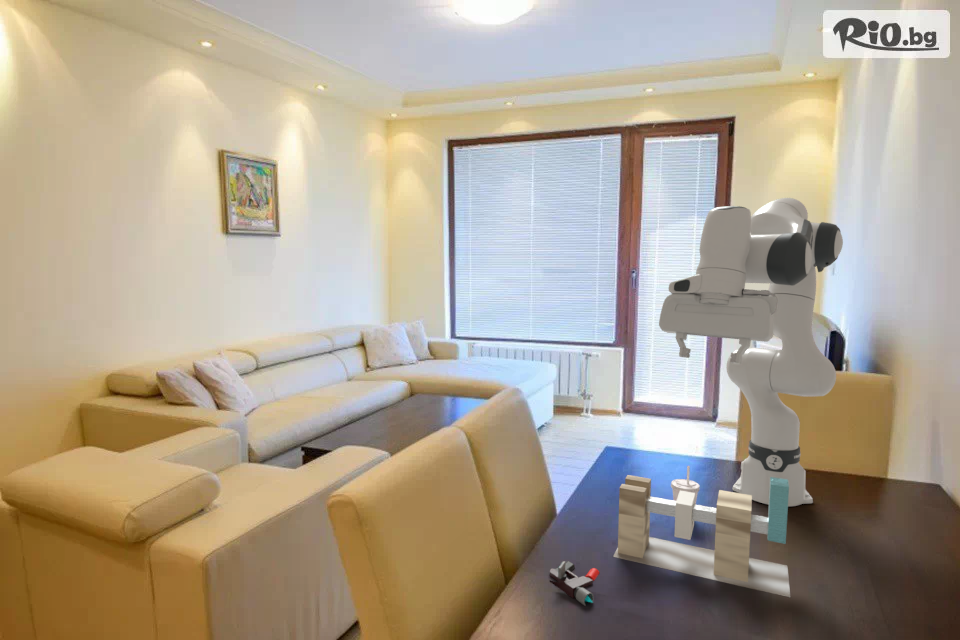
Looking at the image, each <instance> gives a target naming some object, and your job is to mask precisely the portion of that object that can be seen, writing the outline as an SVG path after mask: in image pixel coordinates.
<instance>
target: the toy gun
mask: <svg viewBox="0 0 960 640" xmlns="http://www.w3.org/2000/svg"><path fill="white" fill-rule="evenodd" d="M575 566H576V565H575V564H574V563H573V562H571V561H570V560H567V561H563V560H562V562H561V563H560V565H559V566H558V567H556V568H550V570H549V576H550V577H551V578H553V579H554V580H555V581H554V580H549V582H550V583H552V584H553V585H554V586H555V587H557V588H558V589H559V590H561V591H562V592H564V594H566V595H568V596H569V597H571V598H572V599H576V601H577V602H579V603H580V604H581V605H583V606H585V607H586V606H587V604H586V602H588V603H590V604H593V603H594V594H593V593H592V592H591V591H590V590H589V589H586V587H589V586H591V585H593V583H594V581H595V580H596V579H597V578H598V576H599V574H600V571H599V570H598V569H597V568H596V567H592V568H590V569H589V571H588V572H587V573H586V574H585V575H582V576H578V575H576V574H575V573H573V572H572V571H573V570H574V569H575ZM567 576H568V577H570V579H569V578H568V577H567Z"/></svg>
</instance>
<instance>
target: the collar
mask: <svg viewBox="0 0 960 640" xmlns="http://www.w3.org/2000/svg"><path fill="white" fill-rule="evenodd" d="M694 504H695V493H692V492H686V491H680V492H679V495H678V498H677V501H676V508H675V517H674V535H673V536H674V538H678V539H682V540H683V539H684V540H688V541H691V538H692V534H693V531H694V526H695V521H693V520H692V509H693V506H694Z"/></svg>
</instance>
